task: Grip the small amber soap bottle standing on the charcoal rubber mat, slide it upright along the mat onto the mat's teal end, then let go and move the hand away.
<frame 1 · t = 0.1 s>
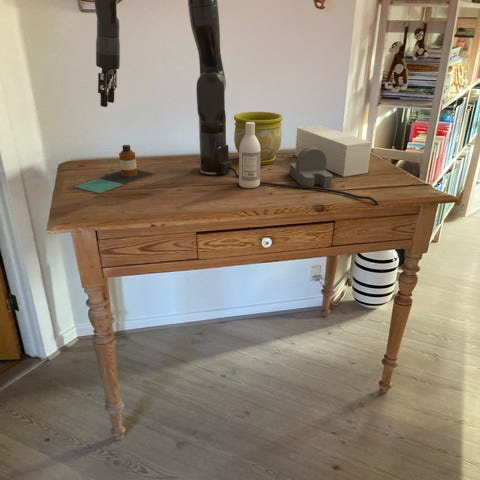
hand: (107, 104, 178), 22 cm above the table, tool pointing down, fingers open, 8 cm apart
bracket: (309, 180, 180), on the table
flowerpot: (257, 161, 201), on the table
soap bottle: (129, 174, 183), resting on mat
bath foam: (249, 186, 174), on the table
white rectangular box: (329, 164, 198), on the table
mat: (115, 180, 178), on the table
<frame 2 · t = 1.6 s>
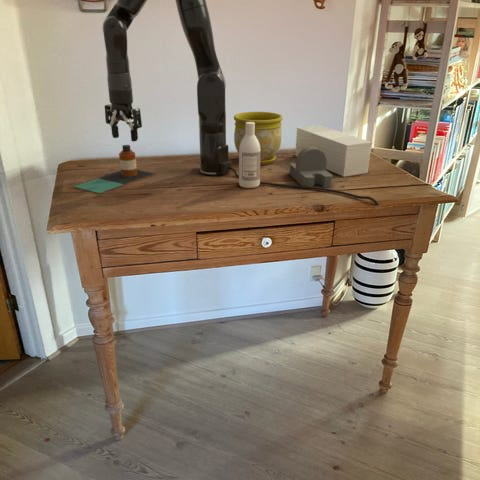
hand: (125, 139, 177), 12 cm above the table, tool pointing down, fingers open, 8 cm apart
nothing on the table moved.
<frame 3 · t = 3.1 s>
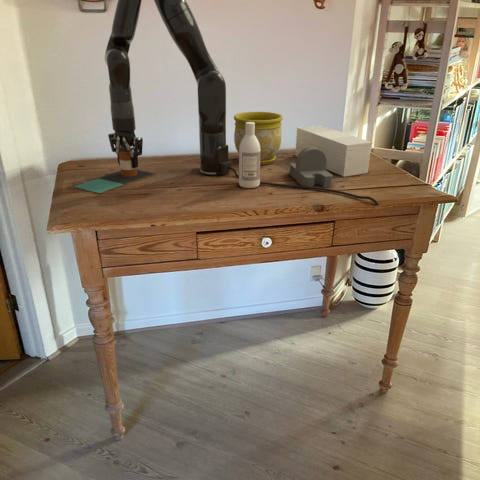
hand: (128, 166, 182), 3 cm above the table, tool pointing down, fingers closed on soap bottle, 5 cm apart
soap bottle: (129, 174, 183), resting on mat, touching gripper
everything else where it was.
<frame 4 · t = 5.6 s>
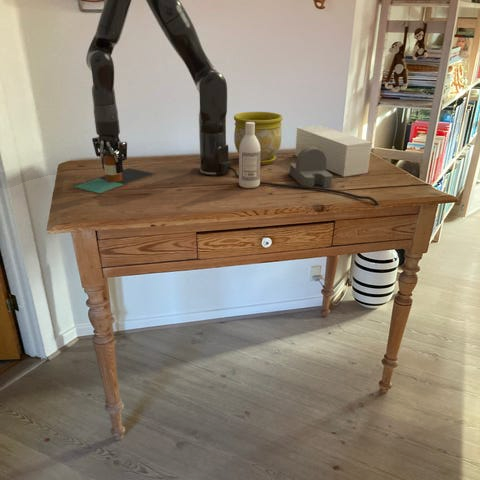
hand: (112, 171, 176), 3 cm above the table, tool pointing down, fingers closed on soap bottle, 5 cm apart
soap bottle: (114, 179, 178), resting on mat, touching gripper
everything else where it was.
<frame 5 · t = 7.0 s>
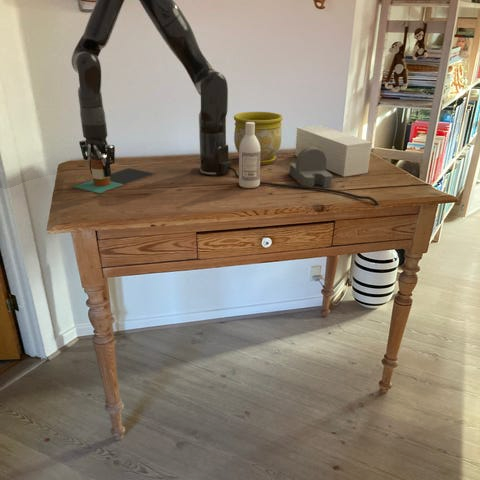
hand: (100, 175, 172), 3 cm above the table, tool pointing down, fingers closed on soap bottle, 5 cm apart
soap bottle: (102, 183, 174), resting on mat, touching gripper
everything else where it was.
when the fingers open (3 cm above the table, at t = 7.9 s): soap bottle stays where it is, resting on mat.
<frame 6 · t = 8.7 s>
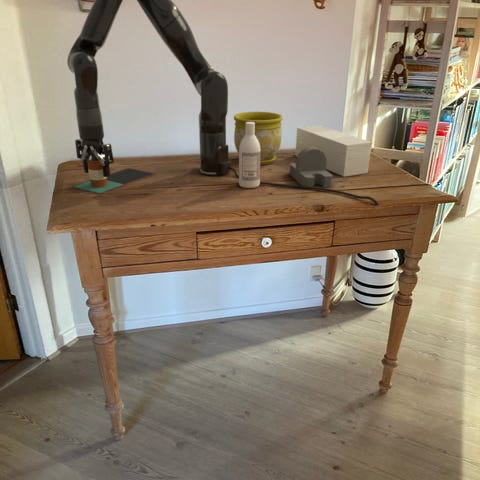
hand: (97, 174, 171), 4 cm above the table, tool pointing down, fingers open, 8 cm apart
soap bottle: (99, 185, 173), resting on mat
everything else where it was.
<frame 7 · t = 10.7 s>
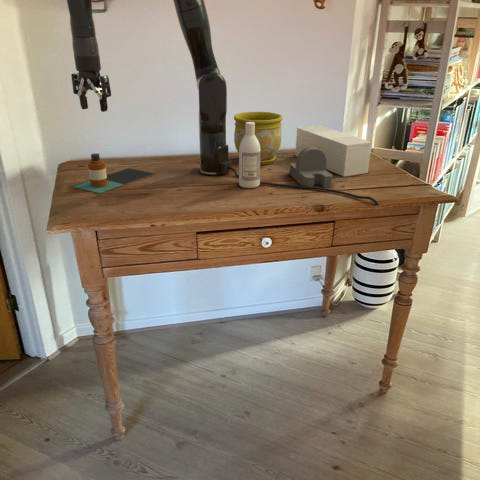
hand: (94, 110, 167), 22 cm above the table, tool pointing down, fingers open, 8 cm apart
nothing on the table moved.
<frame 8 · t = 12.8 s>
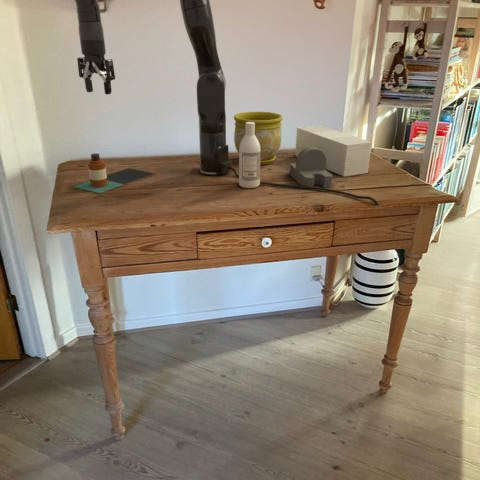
hand: (98, 93, 174), 26 cm above the table, tool pointing down, fingers open, 8 cm apart
nothing on the table moved.
at the end: soap bottle inside the target area (0.3 cm from its centre), resting on mat; soap bottle tilted 0°; the gripper is holding nothing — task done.
